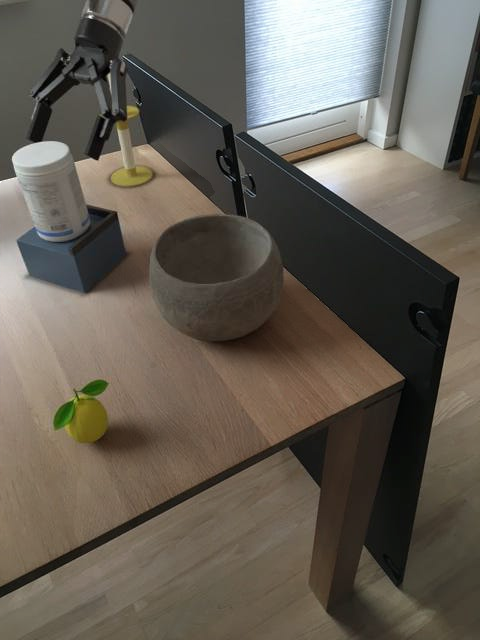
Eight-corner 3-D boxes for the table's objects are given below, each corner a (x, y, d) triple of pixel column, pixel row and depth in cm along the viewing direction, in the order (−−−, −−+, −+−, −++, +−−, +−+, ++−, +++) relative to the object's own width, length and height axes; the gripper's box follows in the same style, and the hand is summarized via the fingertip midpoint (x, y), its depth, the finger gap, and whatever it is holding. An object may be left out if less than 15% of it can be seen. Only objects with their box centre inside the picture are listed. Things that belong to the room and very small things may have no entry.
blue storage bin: (29, 275, 101) (13, 232, 94) (73, 240, 109) (61, 198, 103) (84, 293, 96) (71, 248, 90) (126, 254, 105) (117, 211, 98)
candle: (155, 183, 126) (131, 30, 104) (112, 189, 125) (78, 35, 103) (150, 164, 133) (126, 18, 112) (109, 170, 132) (77, 23, 110)
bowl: (178, 380, 80) (164, 303, 70) (144, 298, 94) (128, 225, 84) (304, 340, 85) (308, 263, 75) (253, 269, 100) (251, 196, 90)
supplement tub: (67, 210, 102) (45, 135, 92) (102, 224, 98) (83, 147, 88) (26, 234, 97) (-2, 157, 87) (61, 250, 92) (36, 171, 82)
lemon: (118, 415, 75) (103, 366, 69) (116, 450, 71) (100, 401, 64) (70, 421, 75) (50, 372, 68) (65, 456, 71) (43, 408, 64)
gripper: (173, 50, 89) (131, 172, 89) (64, 34, 99) (27, 144, 99) (149, 22, 82) (103, 155, 82) (34, 8, 92) (-6, 126, 93)
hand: (61, 149), depth 91 cm, fingers open, 13 cm apart
